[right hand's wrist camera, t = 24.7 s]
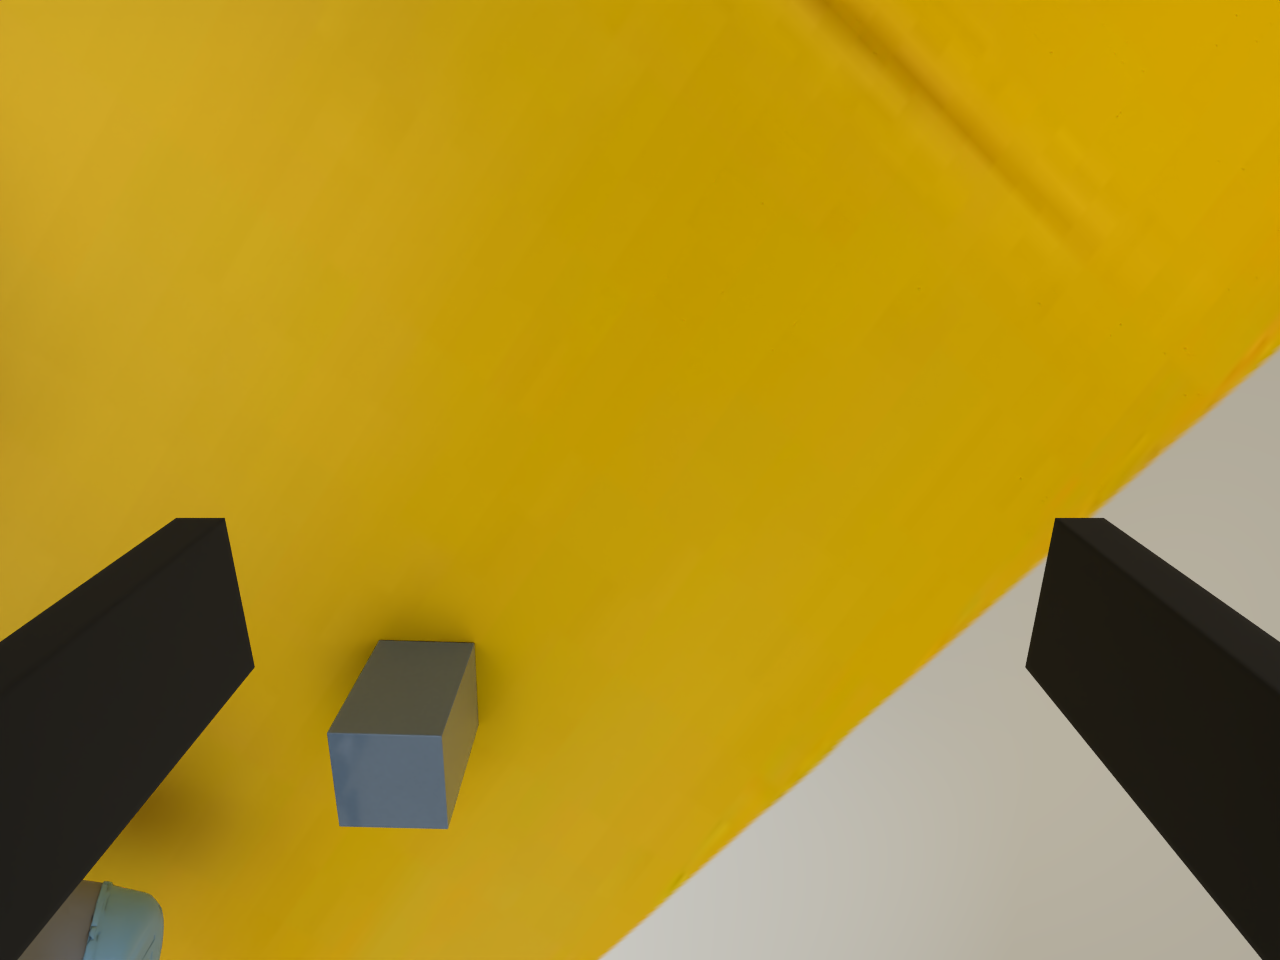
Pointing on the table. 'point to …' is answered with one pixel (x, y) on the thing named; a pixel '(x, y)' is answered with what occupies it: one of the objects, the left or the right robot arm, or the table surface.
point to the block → (405, 735)
